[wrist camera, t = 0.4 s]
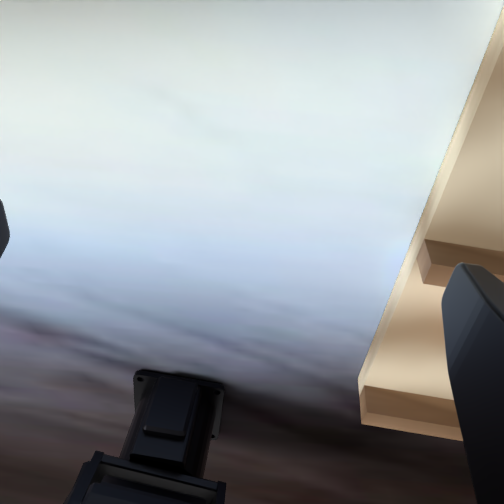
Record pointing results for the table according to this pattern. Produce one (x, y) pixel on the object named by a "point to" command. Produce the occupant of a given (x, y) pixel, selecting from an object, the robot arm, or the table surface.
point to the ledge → (441, 266)
